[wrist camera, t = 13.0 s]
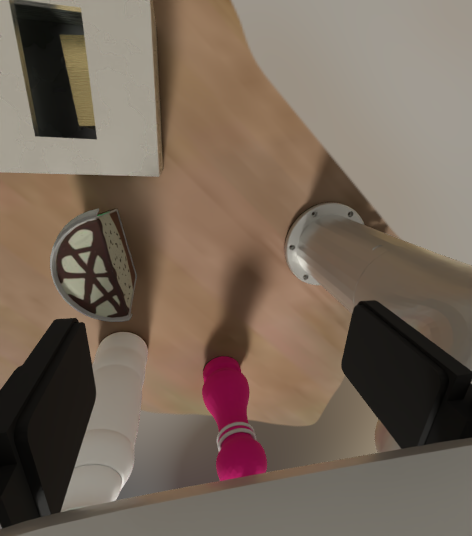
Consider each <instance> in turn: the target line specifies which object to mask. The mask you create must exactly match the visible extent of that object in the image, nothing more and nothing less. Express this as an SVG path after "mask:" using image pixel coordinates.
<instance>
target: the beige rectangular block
mask: <svg viewBox="0 0 472 536" xmlns="http://www.w3.org/2000/svg"><path fill="white" fill-rule="evenodd" d="M59 35H60V40H61V44H62V49H63V54H64V58H65V63H66V67H67V72H68V77H69V81H70V86H71V91H72V95H73V100H74V104H75V109H76V114H77V118H78V123H79V126H81V127H85V128H89V129H96V127H95V119H94V111H93V103H92V95H91V86H90V78H89V70H88V62H87V54H86V46H85V37H84V35H61V34H59Z"/></svg>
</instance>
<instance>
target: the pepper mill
mask: <svg viewBox="0 0 472 536" xmlns="http://www.w3.org/2000/svg"><path fill="white" fill-rule="evenodd" d="M203 378H204V385H203V389H202V395H203V399H204V403H205V405H206V407H207V409H208V410H209V412H210V413H211V414H212V416H213V417H214V419H215V420H216V422H217V424H218V428H219V433H218V436H217V444H218V450H219V454H218V457H217V461H216V467H217V473H218V476H219V479H220V481H223V480H229V479H234V478H239V477H245V476H250V475H256V474H261V473H266V469H267V459H266V455H265V452H264V449H263V448H262V446H261V445H260V443H258V442H257V441H256V435H255V432H254V429H253V427H252V426H251V425H249V423H248V420H247V404H248V400H249V386H248V382H247V379H246V377H245V376H244V375H243V374H242V373H241V369H240V366H239V364H238V362H237V361H236V360H235V359H233V358H231V357H227V356H221V357H217V358H214V359H213V360H211V361H210V362H209V363H207V365H206V366H205V368H204V371H203Z"/></svg>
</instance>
